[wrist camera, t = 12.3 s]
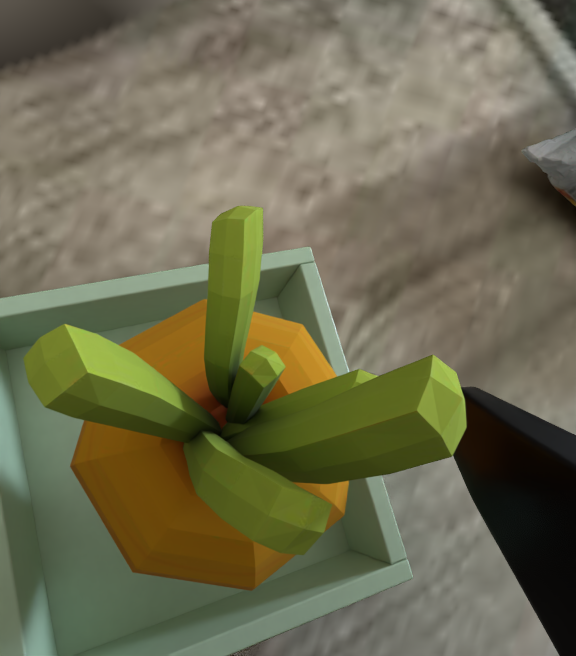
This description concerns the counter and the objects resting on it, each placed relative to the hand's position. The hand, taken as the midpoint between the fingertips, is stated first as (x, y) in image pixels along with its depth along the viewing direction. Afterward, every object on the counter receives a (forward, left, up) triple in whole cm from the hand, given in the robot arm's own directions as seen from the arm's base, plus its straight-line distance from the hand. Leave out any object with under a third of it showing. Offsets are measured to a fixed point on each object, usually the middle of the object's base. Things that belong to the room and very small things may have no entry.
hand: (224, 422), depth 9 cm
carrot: (0, 0, -10) cm, 10 cm away
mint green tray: (0, 0, -11) cm, 11 cm away
